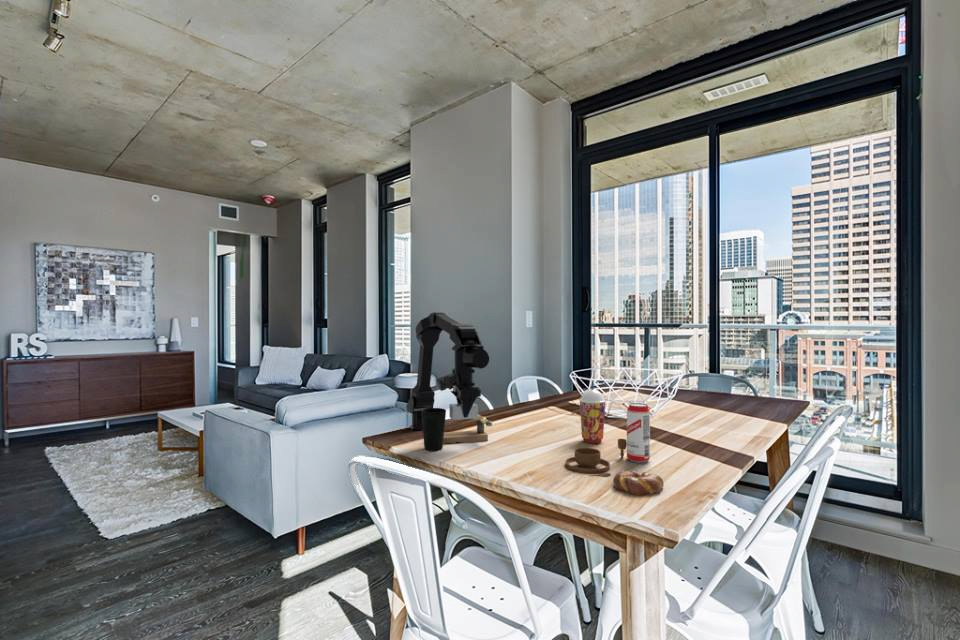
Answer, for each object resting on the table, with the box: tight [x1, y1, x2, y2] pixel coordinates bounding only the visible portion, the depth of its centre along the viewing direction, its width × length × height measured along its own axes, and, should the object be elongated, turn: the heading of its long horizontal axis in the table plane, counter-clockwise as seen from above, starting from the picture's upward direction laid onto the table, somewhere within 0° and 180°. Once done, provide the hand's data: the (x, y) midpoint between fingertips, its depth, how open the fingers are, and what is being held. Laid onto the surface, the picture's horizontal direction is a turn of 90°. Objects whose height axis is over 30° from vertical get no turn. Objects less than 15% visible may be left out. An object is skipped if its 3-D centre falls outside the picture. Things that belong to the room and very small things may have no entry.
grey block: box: [449, 402, 479, 421], centre depth 148 cm, size 4×8×4 cm, turn 106°
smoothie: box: [579, 380, 607, 444], centre depth 157 cm, size 8×8×20 cm
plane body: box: [443, 420, 489, 445], centre depth 158 cm, size 7×17×6 cm, turn 106°
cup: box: [421, 407, 447, 452], centre depth 148 cm, size 8×8×12 cm
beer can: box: [626, 402, 651, 464], centre depth 136 cm, size 6×6×16 cm
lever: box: [474, 413, 493, 427], centre depth 160 cm, size 4×16×1 cm, turn 19°
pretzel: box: [612, 470, 665, 496], centre depth 114 cm, size 12×11×4 cm
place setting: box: [564, 438, 627, 477], centre depth 131 cm, size 18×20×6 cm
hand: (463, 415), depth 148 cm, fingers closed on grey block, 4 cm apart
